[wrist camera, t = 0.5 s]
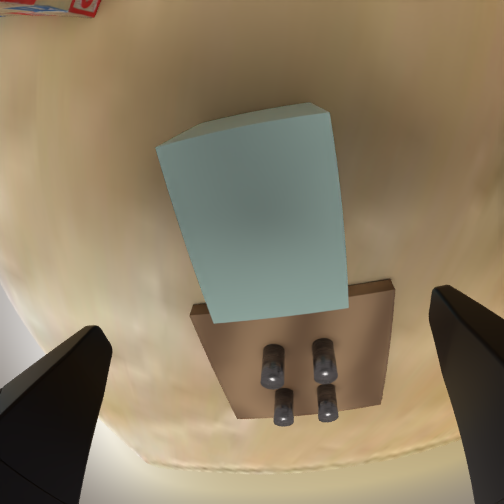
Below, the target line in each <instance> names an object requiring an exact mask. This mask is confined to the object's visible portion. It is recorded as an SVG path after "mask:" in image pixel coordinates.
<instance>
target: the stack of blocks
mask: <svg viewBox="0 0 504 504" xmlns="http://www.w3.org/2000/svg"><path fill="white" fill-rule="evenodd" d="M100 2H101V0H0V17H2V16H12V15H53V16H69V17H85V18H94V17H95V15H96V12H97V10H98V7H99V4H100Z"/></svg>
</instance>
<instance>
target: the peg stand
mask: <svg viewBox="0 0 504 504" xmlns="http://www.w3.org/2000/svg"><path fill="white" fill-rule="evenodd" d="M394 298H395V288H394V286H393V284H392V282H391V280H390V279H388V280H382V281H376V282H370V283H363V284H357V285H350V286H348V302H349V308H345V309H338V310H331V311H324V312H317V313H309V314H301V315H293V316H285V317H276V318H267V319H258V320H248V321H238V322H227V323H215V324H214V323H213V320H212V318H211V315H210V312H209V309H208V307H207V304H197V305H193V307H192V310H191V313H190V318H191V320H192V323H193V325H194V327H195V330H196V332H197V334H198V337H199V339H200V341H201V343H202V346H203V348H204V350H205V352H206V355H207V357H208V359H209V361H210V363H211V366H212V368H213V370H214V372H215V374H216V376H217V378H218V381H219V383H220V385H221V387H222V389H223V391H224V393H225V395H226V397H227V399H228V401H229V403H230V405H231V407H232V409H233V411H234V413H235V415H236V417H237V419H254V418H274V424H275V425H278V426H289V425H291V424H293V422H294V416H301V415H311V414H318V419H319V421H321V422H332V421H335V420H336V419H337V418H338V411H344V410H350V409H357V408H363V407H369V406H374V405H380V404H381V400H382V395H383V389H384V383H385V377H386V370H387V363H388V356H389V349H390V340H391V332H392V322H393V311H394Z"/></svg>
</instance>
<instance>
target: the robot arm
mask: <svg viewBox="0 0 504 504" xmlns="http://www.w3.org/2000/svg"><path fill="white" fill-rule="evenodd" d="M429 323H430V326H431V330H432V334H433V338H434V342H435V346H436V350H437V354H438V358H439V363H440V367H441V371H442V375H443V378H444V382H445V385H446V388H447V391H448V394H449V397H450V400H451V404H452V407H453V410H454V414H455V417H456V421H457V424H458V428H459V432H460V435H461V439H462V443H463V447H464V451H465V455H466V459H467V464H468V469H469V474H470V479H471V483H472V489H473V495H474V501H475V504H504V319H503V318H501V317H500V316H498V315H497V314H495V313H494V312H492V311H490V310H489V309H487V308H486V307H484V306H483V305H481V304H479V303H478V302H476V301H475V300H473V299H471V298H470V297H468V296H467V295H465V294H463V293H462V292H460V291H458V290H457V289H455V288H453V287H452V286H450V285H443V286H438V287H435V288H434V289H433V290H432V295H431V302H430V309H429ZM111 357H112V346H111V344H110V342H109V341H108V339H107V338H106V336H105V334H104V333H103V331H102V330H101V328H100V327H99V326H96V325H90V326H85V327H84V328H82V329H81V330H80V331H78V332H77V333H75V334H74V335H73V336H71V337H70V338H68V339H67V340H66V341H64V342H63V343H61V344H60V345H59V346H57V347H56V348H55V349H53V350H52V351H50V352H49V353H48V354H46V355H45V356H44V357H42V358H41V359H40V360H38V361H37V362H36V363H34V364H33V365H32V366H30V367H29V368H28V369H26V370H25V371H23V372H22V373H21V374H19V375H18V376H17V377H15V378H14V379H13V380H12V381H10V382H9V383H8V384H6V385H5V386H4V387H3V388H1V389H0V504H79V499H80V494H81V488H82V483H83V479H84V474H85V469H86V464H87V460H88V455H89V451H90V447H91V443H92V438H93V435H94V431H95V427H96V423H97V419H98V415H99V412H100V408H101V404H102V401H103V397H104V392H105V387H106V382H107V377H108V372H109V367H110V362H111Z"/></svg>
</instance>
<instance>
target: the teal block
mask: <svg viewBox="0 0 504 504" xmlns="http://www.w3.org/2000/svg"><path fill="white" fill-rule="evenodd" d="M155 148H156V152H157V155H158V159H159V162H160V165H161V169H162V172H163V175H164V179H165V182H166V185H167V189H168V192H169V195H170V198H171V201H172V205H173V208H174V211H175V214H176V217H177V220H178V223H179V226H180V229H181V232H182V236H183V239H184V242H185V244H186V247H187V250H188V253H189V256H190V259H191V262H192V265H193V268H194V271H195V274H196V276H197V279H198V282H199V285H200V288H201V290H202V293H203V296H204V299H205V301H206V304H207V307H208V309H209V312H210V315H211V318H212V320H213V323H214V324H215V323H227V322H238V321H248V320H258V319H267V318H276V317H285V316H293V315H301V314H309V313H317V312H324V311H331V310H338V309H345V308H349V302H348V278H347V261H346V246H345V233H344V222H343V211H342V201H341V192H340V183H339V174H338V166H337V159H336V151H335V144H334V138H333V131H332V125H331V118H330V112H328V111H326V110H324V109H322V108H320V107H318V106H316V105H314V104H312V103H310V102H308V103H301V104H294V105H288V106H282V107H276V108H270V109H264V110H259V111H254V112H249V113H244V114H239V115H234V116H229V117H225V118H221V119H216V120H212V121H208V122H204V123H200V124H198V125H196V126H194V127H192V128H190V129H189V130H187V131H185V132H183V133H181V134H179V135H177V136H175V137H173V138H172V139H170V140H168V141H166V142H164V143H163V144H161V145H159V146H157V147H155Z"/></svg>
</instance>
